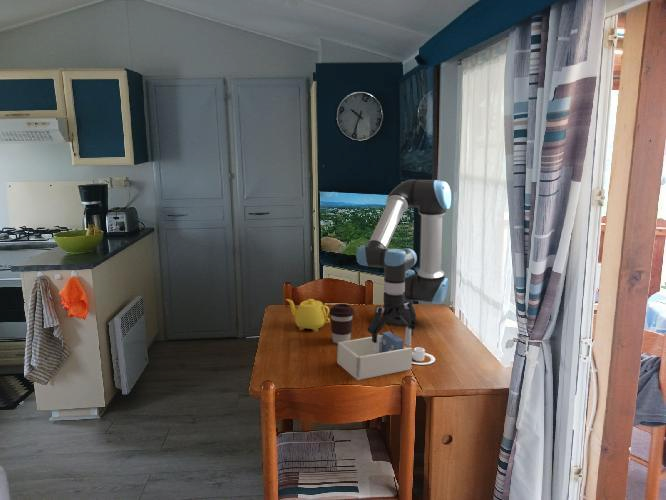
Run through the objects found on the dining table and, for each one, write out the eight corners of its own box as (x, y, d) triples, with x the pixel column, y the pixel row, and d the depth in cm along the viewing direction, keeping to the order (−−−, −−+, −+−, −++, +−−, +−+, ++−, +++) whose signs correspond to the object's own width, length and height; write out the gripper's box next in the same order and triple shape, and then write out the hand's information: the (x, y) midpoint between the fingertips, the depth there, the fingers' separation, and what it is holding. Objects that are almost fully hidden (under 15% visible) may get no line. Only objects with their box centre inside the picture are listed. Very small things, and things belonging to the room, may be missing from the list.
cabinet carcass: (388, 353, 212) (389, 333, 210) (411, 369, 197) (412, 348, 196) (337, 362, 202) (337, 342, 201) (357, 380, 188) (357, 358, 187)
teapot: (325, 334, 231) (325, 305, 228) (280, 329, 236) (280, 301, 233) (334, 324, 244) (334, 296, 241) (291, 319, 249) (291, 292, 246)
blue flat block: (388, 353, 208) (389, 331, 206) (402, 363, 199) (403, 340, 197) (380, 355, 206) (381, 332, 205) (394, 365, 198) (395, 341, 196)
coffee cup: (351, 346, 218) (351, 310, 215) (326, 344, 220) (327, 308, 217) (355, 337, 228) (356, 303, 225) (331, 336, 229) (332, 301, 226)
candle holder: (420, 351, 215) (421, 341, 214) (441, 362, 205) (442, 351, 204) (396, 357, 209) (397, 347, 208) (417, 368, 199) (417, 357, 198)
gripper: (417, 285, 206) (415, 338, 211) (358, 293, 196) (357, 349, 200) (429, 290, 199) (426, 345, 204) (368, 299, 189) (367, 356, 194)
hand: (392, 347), depth 202 cm, fingers open, 13 cm apart
